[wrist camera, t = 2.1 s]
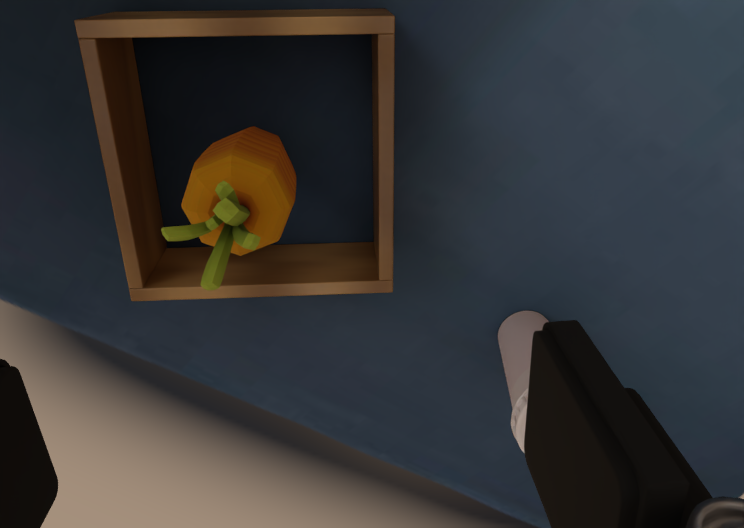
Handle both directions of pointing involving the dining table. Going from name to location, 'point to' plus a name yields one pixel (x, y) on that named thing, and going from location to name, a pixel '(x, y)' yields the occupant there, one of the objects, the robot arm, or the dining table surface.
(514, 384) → the smoothie
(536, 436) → the robot arm
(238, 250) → the carrot
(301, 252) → the wooden frame
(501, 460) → the dining table surface
